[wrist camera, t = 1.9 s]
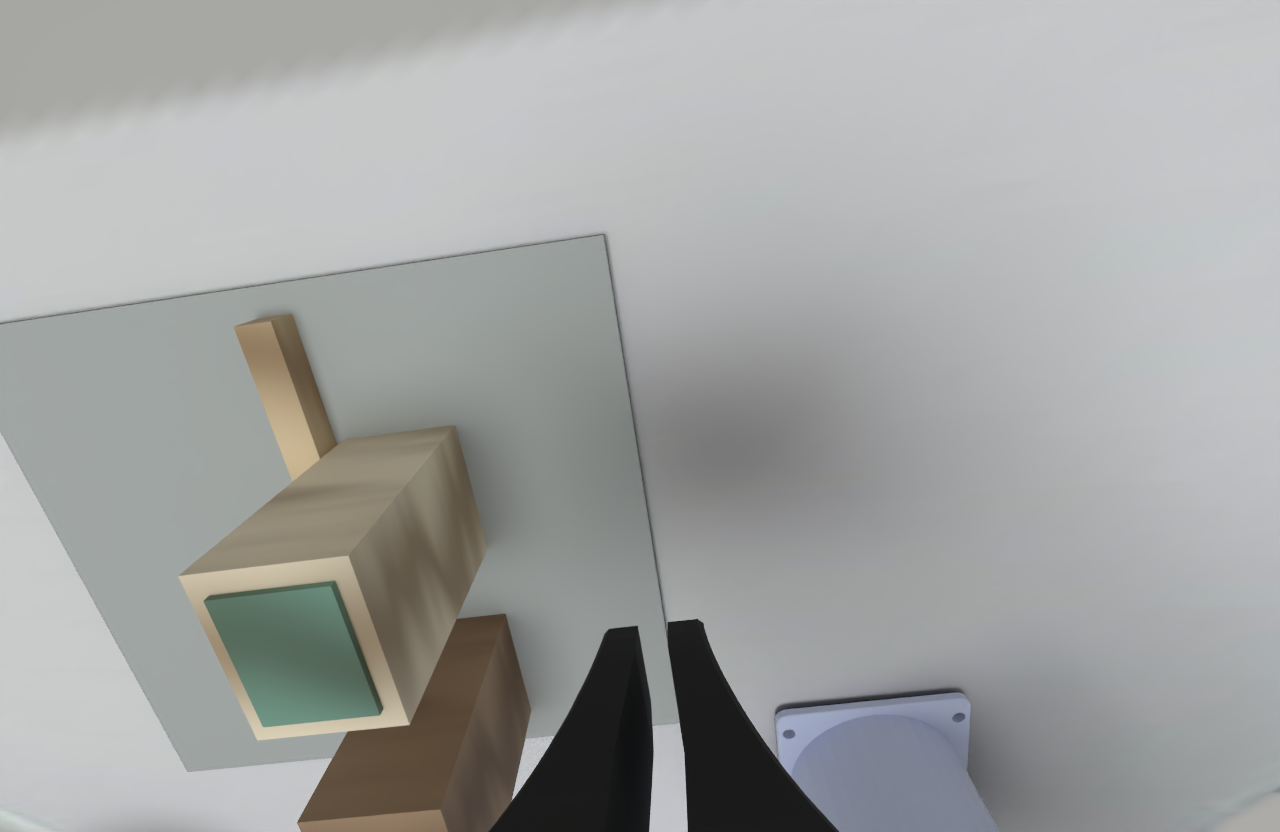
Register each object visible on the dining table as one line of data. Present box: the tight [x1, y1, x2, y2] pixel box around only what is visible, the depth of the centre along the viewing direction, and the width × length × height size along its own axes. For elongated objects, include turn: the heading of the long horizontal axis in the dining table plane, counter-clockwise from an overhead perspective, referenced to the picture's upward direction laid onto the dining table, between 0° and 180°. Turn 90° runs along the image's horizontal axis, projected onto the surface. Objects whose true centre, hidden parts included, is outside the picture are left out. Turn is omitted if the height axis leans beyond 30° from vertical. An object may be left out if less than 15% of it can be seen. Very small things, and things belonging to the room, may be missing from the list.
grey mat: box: [0, 234, 680, 772], centre depth 23 cm, size 20×22×1 cm
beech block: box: [178, 425, 488, 741], centre depth 18 cm, size 5×4×8 cm
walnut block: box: [297, 614, 531, 832], centre depth 21 cm, size 5×4×8 cm
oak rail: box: [234, 314, 337, 482], centre depth 22 cm, size 18×1×1 cm, turn 8°
